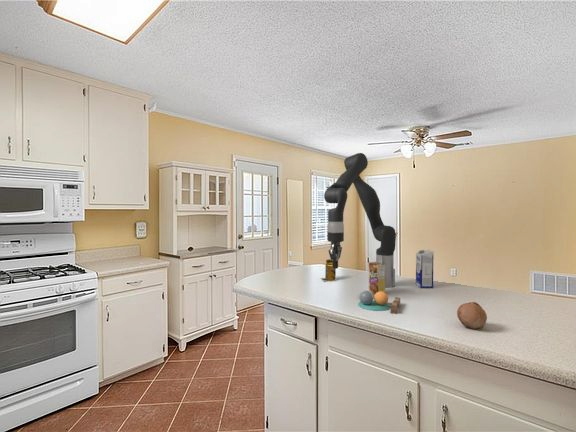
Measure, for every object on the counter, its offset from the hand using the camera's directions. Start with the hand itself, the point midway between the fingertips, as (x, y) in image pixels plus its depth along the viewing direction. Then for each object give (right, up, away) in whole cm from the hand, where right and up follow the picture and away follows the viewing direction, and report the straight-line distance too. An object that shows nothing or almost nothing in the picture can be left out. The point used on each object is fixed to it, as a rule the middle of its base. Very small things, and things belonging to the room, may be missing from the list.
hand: (335, 268), depth 149 cm
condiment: (+2, -14, +42) cm, 44 cm away
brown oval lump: (+45, -16, -33) cm, 58 cm away
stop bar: (+24, -15, -12) cm, 31 cm away
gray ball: (+13, -12, -6) cm, 19 cm away
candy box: (+23, -15, +13) cm, 30 cm away
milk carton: (+52, -14, +26) cm, 60 cm away
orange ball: (+19, -12, -7) cm, 24 cm away
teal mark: (+16, -15, -8) cm, 23 cm away
